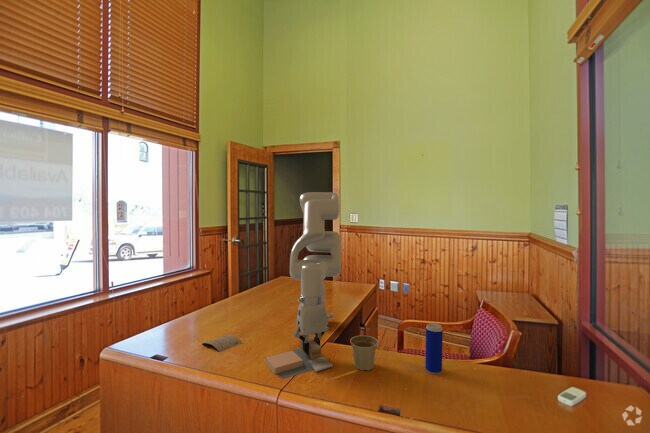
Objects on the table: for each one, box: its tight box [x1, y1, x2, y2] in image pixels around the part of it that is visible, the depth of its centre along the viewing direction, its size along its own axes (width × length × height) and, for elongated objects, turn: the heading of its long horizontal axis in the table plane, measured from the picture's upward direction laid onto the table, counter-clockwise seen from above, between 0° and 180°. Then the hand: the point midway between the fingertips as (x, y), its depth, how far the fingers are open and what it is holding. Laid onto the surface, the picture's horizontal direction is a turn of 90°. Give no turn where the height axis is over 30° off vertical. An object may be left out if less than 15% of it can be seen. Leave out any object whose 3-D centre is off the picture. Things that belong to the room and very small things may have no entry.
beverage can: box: [424, 322, 444, 375], centre depth 103 cm, size 5×5×15 cm
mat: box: [264, 347, 315, 380], centre depth 108 cm, size 16×16×1 cm
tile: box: [265, 350, 303, 375], centre depth 105 cm, size 10×2×8 cm
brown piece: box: [299, 335, 334, 373], centre depth 108 cm, size 14×6×4 cm, turn 31°
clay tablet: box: [202, 333, 243, 353], centre depth 121 cm, size 14×10×3 cm
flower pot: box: [349, 335, 379, 371], centre depth 105 cm, size 9×9×9 cm
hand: (311, 350), depth 110 cm, fingers closed on brown piece, 3 cm apart
